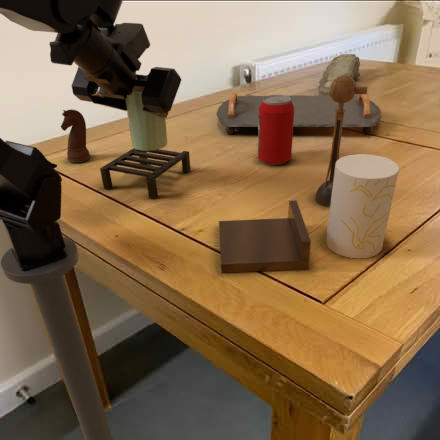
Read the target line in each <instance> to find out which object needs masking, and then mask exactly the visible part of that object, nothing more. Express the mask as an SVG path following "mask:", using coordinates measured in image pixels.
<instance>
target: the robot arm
mask: <svg viewBox="0 0 440 440" xmlns="http://www.w3.org/2000/svg"><path fill="white" fill-rule="evenodd" d="M123 2H124V0H0V14H1V15H2V16H4V17H5V18H6V19H7V20H9V21H10V22H12V23H15V24H17V25H19V26H21V27H23V28H25V29H27V30H30V31H32V32H43V33H53V34H56V33H57V34H56V36H55V39H54V40H53V41H49V48H50V52H49V57H50V62H51V63H52V64H56V65H62V66H73V64H75V65H76V66H77V70H76V71H75V75H74V78H73V80H72V82H71V91H72V94H73V95H74V96H75V97H76V98H77V99H78V100H79V101H82V102H83V101H84V102H90V103H93V104H95V105H99V106H104V107H107V108H112V109H116V110H120V111H124V112H127V109H126V102H125V99H126V98H127V96H131V95H132V93H133V91H139V92H142V95H141V97H142V104H143V105H144V107H143V109H142V111H145V112H148V113H151V114H154V115H157V116H160V117H163V118H165V119H167V118H168V116H169V112H171V110H172V107H173V106H174V101H175V100H176V96H177V94H178V91H179V88H180V85H181V82H182V77H181V75H180V74H179V73H178V71H177V70H176V69H175V68H170V67H162V66H155V67H151V68H150V71H149V72H148V74H138V73H137V72H138V71H140V69H141V66H142V62H141V61H140V58H141V57H142V56H143V54H144V53H145V51H146V50H147V49H149V48H150V47H151V41H150V40H149V37H148V34H147V32H146V30H145V26H144V24H143V23H138V22H122V23H116V20H117V17H118V15H119V13H120V9H121V7H122V4H123ZM57 167H58V164H56V163H53V162H51V161H50V160H48V159H47V158H46V156H45V155H44V154H43V152H41V150H39V148H37V147H35V146H31V145H27V144H22V143H19V142H14V141H10V140H4V139H3V138H1V137H0V220H1V221H2V223H3V227H4V229H5V232H6V234H7V237H8V240H9V243H10V245H11V248H12V253H13V255H14V257H15V259H16V261H17V263H18V264H19V266H20V268H21V270H22V271H28V270H31V269H34V268H37V267H40V266H43V265H46V264H49V263H52V262H55V261H58V260H61V259H64V258H66V257H67V255H66V253H65V251H64V250H63V249H64V248H65V243H64V239H63V237H64V235H63V233H62V229H61V226H60V225H61V224H60V223H59V221H58V220H60V219H61V217H62V192H63V191H62V190H63V189H62V187H63V186H62V181H63V178H62V176H61V174H60V173H59V172H58V171H57V169H56V168H57Z"/></svg>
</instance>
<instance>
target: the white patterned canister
mask: <svg viewBox="0 0 440 440" xmlns="http://www.w3.org/2000/svg"><path fill="white" fill-rule="evenodd" d="M399 172H400V167H399V165H398V164H397V162H395V161H394V160H393V159H390V158H387V157H385V156H381V155H377V154H369V153H368V154H367V153H357V154H350V155H345V156H342V157H339V160H337V162H336V164H335V172H334V180H333V188H332V196H331V205H330V207H329V212H328V222H327V228H326V229H327V230H326V238H325V245H326V246H327V248H328V250H330V251H332V252H333V253H335V254H337V255H339V256H342V257H345V258H351V259H366V258H367V259H368V258H372V257H374V256H376V255H378V254H379V253H380V252H382V249H383V247H384V242H385V237H386V232H387V227H388V223H389V217H390V213H391V208H392V203H393V199H394V195H395V191H396V190H395V189H396V184H397V181H398V175H399Z"/></svg>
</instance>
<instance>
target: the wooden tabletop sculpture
mask: <svg viewBox="0 0 440 440" xmlns="http://www.w3.org/2000/svg"><path fill="white" fill-rule="evenodd" d="M368 88H369V87H368V86H363V85H362V86H359V85H357V83H356V79H352V78H351V77H350V76H346V75H343V76H339V77H337V78H336V79H334V80H333V82H332V83H331V85H330V90H329V92H330V96H331V98H332V99H333V101H335V102H338V109H336V110H335V111H336V117H335V126H334V127H333V135H332V136H333V137H332V142H331V150H330V155H329V163H328V168H327V173H326V177H325V180H324V182H323V183H322V184H320V186H319V187H318V188H317V189H316V192H315V195H314V201H315V202H316V204H317V205H320V206H323V207H328V208H330V205H331V196H332V188H333V180H334V172H335V164H336V162H337V160H339V159H340V151H341V142H342V132H343V127H342V126H343V118H344V112H345V111H346V110H345V109H343V107H344V103H346V102H349V101H350V100H351V99H352V98H353V97H354V95H360V94H367V93H368Z"/></svg>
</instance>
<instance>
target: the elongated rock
mask: <svg viewBox="0 0 440 440" xmlns="http://www.w3.org/2000/svg"><path fill="white" fill-rule="evenodd" d="M360 66H361V61H360V57H359V56H356V54H355V53H343V54H339V55H337V56H335V57H333V58H332V60H331V61H330V63H329V64H328V65H327V66H326V68H325V71H323V73H322V78H321V79H319V81H318V84H319V85H318V87H317V88H318V89H317V90H318V95H330V92H329V90H330V85H331V83H332V82H333V80H334V79H336V78H337V77H339V76H343V75H346V76H350V77H351V78H352V79H354V80H356V79H359V78H360V76H361V73H360Z"/></svg>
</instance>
